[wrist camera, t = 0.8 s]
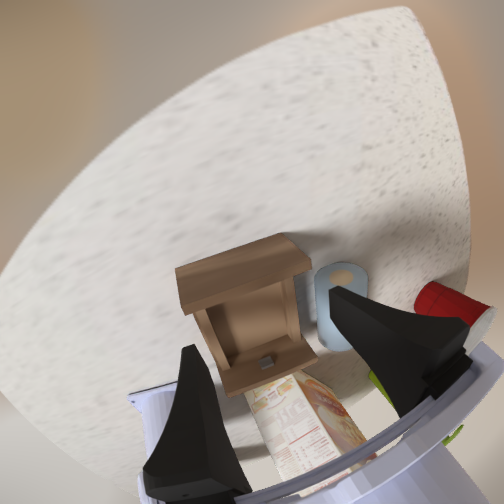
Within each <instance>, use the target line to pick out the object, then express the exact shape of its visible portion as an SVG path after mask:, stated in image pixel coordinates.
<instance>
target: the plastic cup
mask: <svg viewBox="0 0 504 504" xmlns="http://www.w3.org/2000/svg"><path fill="white" fill-rule="evenodd" d="M414 310H415V312H416V314H421V315H428V316H438V317H460V318H461V319H462V320H464V321H465V322H466V323H467V324H468V325H470V332H469V334H468V337H467V339H466V341H465V343H464V345H463V347H464V348H465V349H466V353H465V354H466V355H467V356H469V354H470V353H471V352H472V350H473V349H474V348H475V347H476V346H477V345H478V344H479V343H480V342H481V340H482V339H483V337H484V336H485V335H486V333H487V332H488V330H489V328H490V327H491V325H492V323H493V321H494V319H495V316H496V314H497V308H496V307H493V306H492V307H490V306H488V305H485V304H482V303H481V302H479V301H476V300H474V299H471V298H470V297H468V296H466V295H464V294H462V293H460V292H458V291H455V290H453V289H451V288H448V287H446V286H444V285H441V284H439V283H437V282H433V281H432V282H429V283H428V284H427V285H426V286H424V288H423V289H422V290H421V292H420V293H419V295H418V297H417V298H416V301H415V304H414Z"/></svg>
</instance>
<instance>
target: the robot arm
mask: <svg viewBox="0 0 504 504" xmlns="http://www.w3.org/2000/svg"><path fill="white" fill-rule="evenodd" d="M328 291H329V310H330V319H331V320H332V322H333V323H334V325H335V326H336V328H337V329H338V331H339V332H340V333H341V334H342V336H343V337H344V338H345V339H346V340H347V341H348V342H349V343H350V345H351V346H352V347H353V348H354V349H355V350H356V351H357V352H358V354H359V355H360V356H361V357H362V358H363V359H364V360H365V362H366V363H367V364H368V365H369V367H370V368H371V370H372V371H373V373H374V374H375V376H376V377H377V379H378V380H379V382H380V383H381V385H382V387H383V388H384V390H385V392H386V393H387V395H388V397H389V398H390V400H391V402H392V404H393V406H394V408H395V410H396V411H397V413H398V416H399V417H400V419H399V420H398V421H397V422H395V423H394V424H392V425H391V426H389V427H388V428H386V429H385V430H383V431H382V432H380V433H379V434H377V435H376V436H374V437H372V438H371V439H369V440H368V441H366V442H364V443H363V444H361V445H359V446H358V447H356V448H354V449H352V450H351V451H349V452H347V453H345V454H343V455H341V456H340V457H338V458H336V459H334V460H332V461H330V462H328V463H326V464H324V465H322V466H320V467H317V468H315V469H313V470H311V471H309V472H306V473H304V474H302V475H299V476H297V477H295V478H292V479H290V480H287V481H284V482H282V483H279V484H276V485H273V486H271V487H268V488H265V489H262V490H259V491H255V492H252V491H253V490H252V488H251V486H250V485H249V483H248V481H247V479H246V477H245V475H244V472H243V470H242V468H241V466H240V464H239V462H238V459H237V457H236V455H235V452H234V450H233V448H232V445H231V443H230V440H229V438H228V435H227V433H226V430H225V427H224V424H223V420H222V416H221V412H220V408H219V404H218V399H217V395H216V391H215V387H214V383H213V381H212V378H211V375H210V372H209V369H208V367H207V365H206V364H205V362H204V360H203V358H202V357H201V355H200V353H199V351H198V349H197V348H196V346H195V344H192V345H189V346H186V347H183V348H182V351H181V362H180V370H179V376H178V382H176V383H173V384H169V385H166V386H162V387H159V388H155V389H151V390H147V391H143V392H139V393H135V394H131V395H128V396H127V400H128V401H129V402H130V403H131V404H132V405H133V406H134V407H135V408H136V409H137V410H138V411H139V412H140V413H141V414H142V421H143V430H144V439H145V447H146V454H147V462H146V464H145V465H144V467H143V470H142V471H141V472H140V473H139V474H138V490H139V497H140V502H141V504H491V503H490V502H489V501H488V499H487V498H486V497H485V496H484V494H483V493H482V492H481V490H480V489H479V488H478V487H477V485H476V484H475V483H474V482H473V480H472V479H471V478H470V476H469V475H468V474H467V473H466V472H465V470H464V469H463V468H462V467H461V465H460V464H459V463H458V462H457V460H456V459H455V458H454V457H453V455H452V454H451V453H450V452H449V451H448V450H447V448H446V447H445V446H444V445H443V443H442V442H441V441H442V440H444V439H445V438H446V437H447V436H448V435H449V434H450V433H451V432H452V431H453V430H454V429H455V428H456V427H457V426H458V425H459V424H460V423H461V422H462V421H463V420H464V419H465V418H466V417H467V416H468V415H469V414H470V413H471V412H472V411H473V410H474V408H475V407H476V406H477V405H478V404H479V403H480V402H481V400H482V399H483V398H484V397H485V396H486V395H487V393H488V392H489V391H490V390H491V388H492V387H493V386H494V385H495V383H496V382H497V381H498V379H499V378H500V377H501V375H502V374H503V372H504V360H503V359H502V358H501V357H500V356H498V355H497V354H496V353H495V352H494V351H493V350H492V349H491V348H490V347H488V346H487V345H486V344H485V343H484V342H483V341H481V342H480V343H479V344H478V345H477V346H476V347H475V348H474V349H473V350H472V352H471V353H470V354H469V356H467V355H466V354H465V353H466V349H465V348H464V347H463V345H464V343H465V341H466V339H467V337H468V334H469V332H470V325H468V324H467V323H466V322H465V321H464V320H462V319H461V318H460V317H438V316H428V315H421V314H415V313H410V312H406V311H402V310H398V309H395V308H392V307H389V306H386V305H383V304H380V303H378V302H375V301H373V300H370V299H368V298H366V297H363V296H361V295H359V294H357V293H354V292H352V291H350V290H348V289H346V288H343V287H341V286H339V285H338V286H336V287H333V288H331V289H329V290H328ZM408 429H409V430H408ZM407 430H408V431H407ZM406 431H407V432H406ZM404 432H406V433H404ZM403 433H404V434H403ZM401 434H403V437H402V438H401V440H400V441H399V442H398V443H397V444H396V445H395V446H393V447H392V448H390V449H389V450H387V451H386V452H384V453H382V454H381V455H379V456H378V457H376V458H374V459H373V460H371V461H370V462H368V463H366V464H365V465H363V466H361V467H360V468H358V469H356V470H355V471H353V472H351V473H349V474H347V475H346V476H344V477H342V478H340V479H339V480H337V481H335V482H333V483H331V484H329V485H327V486H325V487H323V488H321V489H319V490H317V491H315V492H313V493H311V494H309V495H307V496H305V497H300V495H299V494H295V495H291V494H294V493H296V492H299V491H301V490H304V489H306V488H308V487H311V486H313V485H315V484H317V483H320V482H322V481H324V480H326V479H328V478H330V477H332V476H334V475H336V474H338V473H340V472H342V471H344V470H346V469H348V468H349V467H351V466H353V465H355V464H357V463H358V462H360V461H362V460H364V459H365V458H367V457H369V456H370V455H372V454H373V453H375V452H377V451H378V450H380V449H381V448H383V447H384V446H386V445H387V444H389V443H390V442H392V441H393V440H394V439H396V438H397V437H399V436H400V435H401ZM289 495H291V496H289ZM286 496H288V497H286ZM283 497H284V498H283ZM280 498H281V499H280Z"/></svg>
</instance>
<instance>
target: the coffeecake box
mask: <svg viewBox="0 0 504 504" xmlns="http://www.w3.org/2000/svg"><path fill="white" fill-rule="evenodd" d="M244 395H245V397H246V400H247V402H248V405H249V407H250V409H251V412H252V414H253V416H254V419H255V421H256V423H257V426H258V428H259V430H260V433H261V435H262V437H263V439H264V442H265V444H266V446H267V448H268V451H269V453H270V455H271V457H272V459H273V461H274V463H275V466H276V468H277V470H278V472H279V474H280V476H281V478H282V480H283V482H284V481H287V480H290V479H292V478H295V477H297V476H299V475H302V474H304V473H306V472H309V471H311V470H313V469H315V468H317V467H320V466H322V465H324V464H326V463H328V462H330V461H332V460H334V459H336V458H338V457H340V456H341V455H343V454H345V453H347V452H349V451H351V450H352V449H354V448H356V447H358V446H359V445H361V444H363V443H364V442H366V441H367V440H366V438H365V437H364V436H363V434H362V433H361V431H360V430H359V429H358V427H357V426H356V424H355V423H354V421H353V420H352V419H351V417H350V416H349V414H348V413H347V412H346V410H345V409H344V407H343V406H342V404H341V403H340V401H339V400H338V398H337V397H336V395H335V394H334V392H333V391H332V389H331V388H329V387H328V386H326V385H324V384H323V383H321V382H319V381H318V380H316V379H314V378H313V377H311V376H310V375H308V374H306V373H305V372H303V371H302V370H299V371H297V372H294V373H292V374H290V375H288V376H285V377H283V378H280V379H278V380H276V381H273V382H271V383H268V384H266V385H263V386H261V387H258V388H255V389H253V390H250V391H247V392H245V393H244ZM376 457H378V456H377V454H376V453H373V454H372V455H370V456H369V457H367V458H365V459H364V460H362V461H360V462H358V463H357V464H355V465H353V466H351V467H349V468H348V469H346V470H344V471H342V472H340V473H338V474H336V475H334V476H332V477H330V478H328V479H326V480H324V481H322V482H320V483H317V484H315V485H313V486H311V487H308V488H306V489H304V490H301V491H299V492H296V493H294V494H291V495H295V494H299V495H300V497H305V496H307V495H309V494H311V493H313V492H315V491H317V490H319V489H321V488H323V487H325V486H327V485H329V484H331V483H333V482H335V481H337V480H339V479H340V478H342V477H344V476H346V475H347V474H349V473H351V472H353V471H355V470H356V469H358V468H360V467H361V466H363V465H365V464H366V463H368V462H370V461H371V460H373V459H374V458H376ZM291 495H290V496H291Z"/></svg>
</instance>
